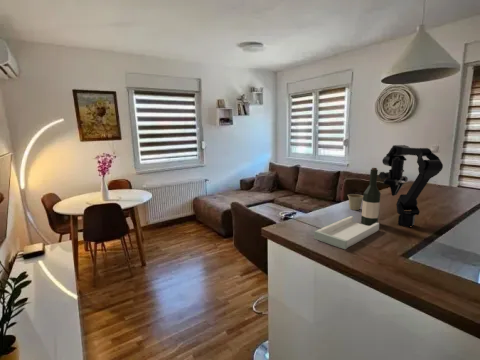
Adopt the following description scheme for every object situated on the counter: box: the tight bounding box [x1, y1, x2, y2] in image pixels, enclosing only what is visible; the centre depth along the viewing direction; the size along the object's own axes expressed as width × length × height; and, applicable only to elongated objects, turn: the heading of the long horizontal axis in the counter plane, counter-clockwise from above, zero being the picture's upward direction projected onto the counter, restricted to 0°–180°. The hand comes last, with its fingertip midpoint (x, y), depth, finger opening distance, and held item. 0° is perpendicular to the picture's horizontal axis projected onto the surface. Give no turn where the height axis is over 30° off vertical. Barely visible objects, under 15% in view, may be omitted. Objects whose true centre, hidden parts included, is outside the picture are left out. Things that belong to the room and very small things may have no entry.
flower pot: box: [347, 193, 363, 211], centre depth 169 cm, size 9×9×9 cm
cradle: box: [313, 215, 380, 250], centre depth 129 cm, size 15×34×4 cm, turn 131°
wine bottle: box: [360, 167, 382, 226], centre depth 141 cm, size 8×8×30 cm
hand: (394, 195), depth 151 cm, fingers open, 3 cm apart
